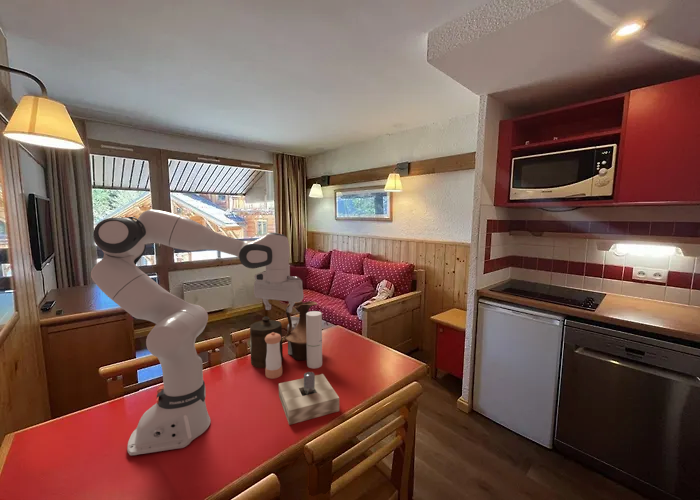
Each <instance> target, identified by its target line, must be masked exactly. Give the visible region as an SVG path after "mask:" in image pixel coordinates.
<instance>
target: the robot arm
mask: <svg viewBox="0 0 700 500" xmlns="http://www.w3.org/2000/svg"><path fill="white" fill-rule="evenodd" d="M92 237H93V240H94V243H95V244H96V246H97V247H98V248H99V249H100V250H101V251H102V252H103V257H102V259H101V260H100V261H98V262H96V264H95V265H94V266H93V268H92V269H91V272H90V277H91V279H92V281H93V282H94V284H95V285H96V286H97V287H98V288H99V289H100V291H101V292H102V293H104V295H106V296H107V297H108V298H109V299H110V300H111V301H112V302H114V303H115V304H116V305H117V306H118V307H120V308H121V309H122V310H124V311H125V312H126V313H128V314H129V315H130V316H131V317H133V318H135V319H137V320H144V321H148V322H151V323H153V324H155V325H154V327H153V326H152V328H151V330H150V332H149V333H148V334H147V336H146V339H145V340H146V341H145V345H146V348H147V350H148V352H149V353H150V354H151V355H152V356H153V357H156V358H157V359H158V361H159V363H160V367H161V370H162V381H163V382H162V383H163V385H160V386H159V387H158V388H157V390H156V403H155V404H153V405H152V406H151V407H149V408H148V409H147V410H146V411H145V412H144V413H143V414H142V415H141V417H140V419H139V420H138V423H137V426H136V428H135V429H134V430H133V431H132V432H131V435H130V437H129V439H128V441H127V453H128V455H129V456H137V455H143V454H150V453H157V452H162V451H163V452H164V451H169V450H178V449H183V448H185V447H188V445H190V444H191V442H193V440H195V439H196V438H198V437H199V436H201V435H202V434H203V433H205V432H206V431H207V430H208V428H209V426H210V425H211V417H210V415H209V413H208V409H207V405H206V396H207V395H206V394H207V393H206V392H207V391H206V383H205V380H204V375H203V374H204V373H203V359H202V357H200V355H198V352H197V350H196V346H195V345H196V339H197V337H199V335H201V334H202V333H203V332H204V331H205V328H206V326H207V324H208V321H209V320H208V319H209V314H208V312H207V310H206V309H205V308H204V307H203V306H201V305H199V304H195V303H190V302H189V301H186V300H184V299H183V298H180V297H178V296H177V295H174V294H173V293H171V292H169V291H168V290H167V289H165V288H163V286H162V285H159V283H157V282H156V281H155V280H154V279H152V277H150V276H149V275H148V274H146V272H144V271H142V270H141V269H140V268H139V267H138V266H137V264H138V262H140V261H139V260H140V259H142V257H143V256H144V254H145V252H146V249H147V247H146V246H147V245H148V244H160V245H163V246H166V247H170V248H173V249H177V250H182V251H192V252H195V251H201V250H202V251H203V250H213V251H216V252H217V251H218V252H220V253H225V254H227V255H232V256H235V257H237V258H238V259H239V262H240V263H241V264H242V266H244V267H245V268H247V269H251V270H252V269H253V270H254V269H259V268H263V267H265V271H262V272H259V273H256V274H254V277H253V279H254V280H255V281H254V283H253V295H254V297H255V298H256V299H262V303H263V304H264V307H265V311H271V309H272V304H270V302H269V300H275V301H283V302H288V304H290V306H289V307H288V308H286V309H287V312H288V313H289V314H291V313H292V312H293V307H294V306H295V305H294V304H295V302H300V301H303V300H304V288H303V280H302V279H301V278H300V277H299V276H292V275H291V267H290V264H289V263H290V261H289V260H290V243H289V239H288V237H287V235H285V234H282V233H279V232H270V231H269V232H267V233H266V234H264V235H263V236H261V237H259V238H257V239H245V240H243V239H237V238H234V237H230V236H229V235H228V236H227V235H224V234H222V233H218V232H216V231H214V230H212V229H210V228H208V227H207V226H205V225H203V224H202V223H200V222H197V221H196V220H193V219H191V218H188V217H185V216H184V215H180V214H175V213H174V212H173V213H172V212H168V211H163V210H159V209H147V210H145V211H143V212H142V213H140V215H139V216H138V218H137V217H135V216H126V217H109V218H105V219H103V220H101V221H99V222H98V223H97V224H96V226H94V230H93V235H92ZM286 309H285V310H286Z"/></svg>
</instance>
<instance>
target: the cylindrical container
mask: <svg viewBox="0 0 700 500" xmlns="http://www.w3.org/2000/svg"><path fill="white" fill-rule="evenodd" d="M306 335H307V360H306V366H307V367H308V368H309V369H319V368H321V367H322V366H323V313H322V312H321V311H318V310H317V311H316V310H312V311H308V312H307V313H306Z"/></svg>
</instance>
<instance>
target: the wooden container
mask: <svg viewBox="0 0 700 500" xmlns="http://www.w3.org/2000/svg"><path fill="white" fill-rule="evenodd" d="M282 330H283V328H282V322H281V321H278V320H276V319H275V320H274V319H270V317H269V316H263V317H262V320H259V321H255V322H253V323H252V324H250V325H249V332H250V334H249V335H250V336H249V341H250V342H249V343H250V345H249V346H250V363H251V366H252V367H255V368H258V369H265V368H266V355H267V343H266V342H265V337H266V336H267V335H268V334H271V333H272V332H274V333H278V334H280V336H281V341H280V354H281V363H282V362H283V359H284V358H283V357H284V355H283V354H284V353H283V352H284V351H283V331H282Z"/></svg>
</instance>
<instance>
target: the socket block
mask: <svg viewBox="0 0 700 500" xmlns="http://www.w3.org/2000/svg"><path fill="white" fill-rule="evenodd" d="M278 397H279V400H280V403H281V406H282V409H283V412H284V415H285V417H286V420H287V424H288V425H289V426H290V425H293V424H297V423H302V422H304V421H308V420H311V419H315V418H319V417H323V416H326V415H330V414H333V413H337V412H340V397H339V395H338V393H337V392H336V391H335V389H334V388H333V387H332V384H330V382H329V381H328V379H327V378H326V376H325V374H324V373H321V374H315V393H313V394H309V395H305V396H304V377H302V378H298V379H294V380H289V381H284V382H280V383H278Z"/></svg>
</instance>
